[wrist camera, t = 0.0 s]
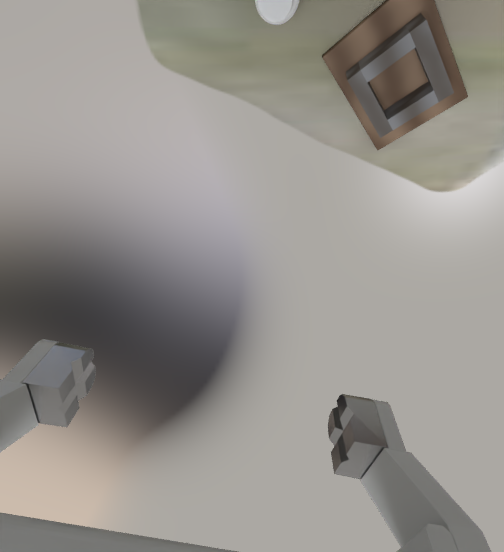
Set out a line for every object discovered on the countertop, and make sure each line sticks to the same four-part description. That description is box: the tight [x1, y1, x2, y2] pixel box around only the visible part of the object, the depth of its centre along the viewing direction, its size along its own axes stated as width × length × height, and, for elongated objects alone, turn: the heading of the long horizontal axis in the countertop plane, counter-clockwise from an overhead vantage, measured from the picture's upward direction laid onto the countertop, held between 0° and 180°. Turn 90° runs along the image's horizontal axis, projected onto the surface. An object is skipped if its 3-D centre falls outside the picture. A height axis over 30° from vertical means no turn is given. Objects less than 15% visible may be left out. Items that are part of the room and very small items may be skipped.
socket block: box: [322, 0, 468, 150], centre depth 46 cm, size 14×18×4 cm
